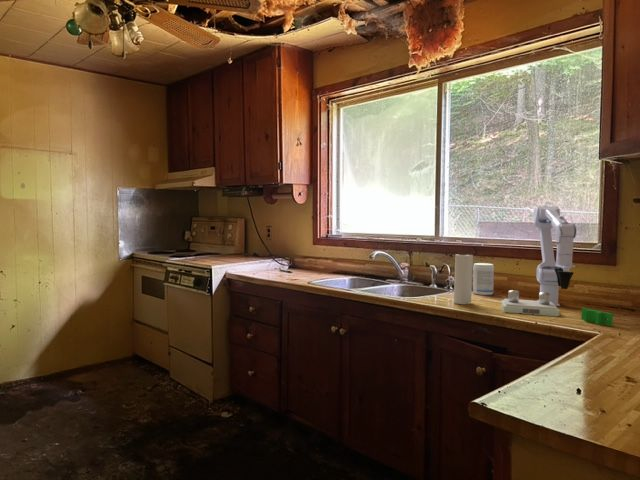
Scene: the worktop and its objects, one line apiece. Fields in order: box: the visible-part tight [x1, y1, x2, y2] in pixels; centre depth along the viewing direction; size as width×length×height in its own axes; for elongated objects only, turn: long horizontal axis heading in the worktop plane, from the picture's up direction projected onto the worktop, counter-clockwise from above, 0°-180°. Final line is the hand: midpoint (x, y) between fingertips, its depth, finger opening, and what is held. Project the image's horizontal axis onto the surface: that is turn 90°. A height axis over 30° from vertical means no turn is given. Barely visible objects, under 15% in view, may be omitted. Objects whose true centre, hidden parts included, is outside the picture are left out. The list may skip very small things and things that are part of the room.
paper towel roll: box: [453, 253, 474, 305], centre depth 203 cm, size 7×6×21 cm
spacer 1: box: [507, 289, 520, 303], centre depth 193 cm, size 4×4×4 cm
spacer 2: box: [538, 291, 550, 305], centre depth 189 cm, size 4×4×4 cm
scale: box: [500, 298, 560, 317], centre depth 191 cm, size 15×20×3 cm
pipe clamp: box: [580, 307, 614, 327], centre depth 172 cm, size 11×4×5 cm, turn 25°
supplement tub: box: [472, 262, 495, 296], centre depth 229 cm, size 10×10×15 cm
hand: (562, 287), depth 190 cm, fingers open, 7 cm apart
